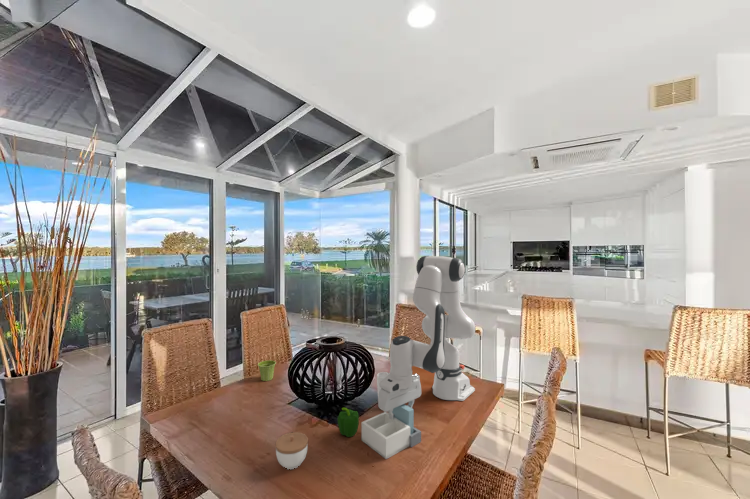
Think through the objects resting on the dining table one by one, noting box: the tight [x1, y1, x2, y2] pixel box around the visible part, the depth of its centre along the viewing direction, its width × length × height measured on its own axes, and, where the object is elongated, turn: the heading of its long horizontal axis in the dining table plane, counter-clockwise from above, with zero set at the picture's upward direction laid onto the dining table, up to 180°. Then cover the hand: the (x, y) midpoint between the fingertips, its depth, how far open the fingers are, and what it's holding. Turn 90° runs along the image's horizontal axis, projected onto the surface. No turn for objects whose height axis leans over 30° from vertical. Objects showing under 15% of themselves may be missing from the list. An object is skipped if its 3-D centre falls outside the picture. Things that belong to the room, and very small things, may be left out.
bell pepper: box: [337, 407, 360, 438], centre depth 129 cm, size 8×8×10 cm
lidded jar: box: [274, 431, 309, 470], centre depth 112 cm, size 11×11×9 cm
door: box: [392, 403, 415, 435], centre depth 128 cm, size 3×11×12 cm, turn 40°
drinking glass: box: [376, 371, 390, 408], centre depth 149 cm, size 7×7×15 cm
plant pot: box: [257, 359, 277, 382], centre depth 180 cm, size 9×9×9 cm
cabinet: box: [361, 411, 422, 460], centre depth 125 cm, size 17×16×7 cm
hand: (400, 414), depth 128 cm, fingers open, 8 cm apart
